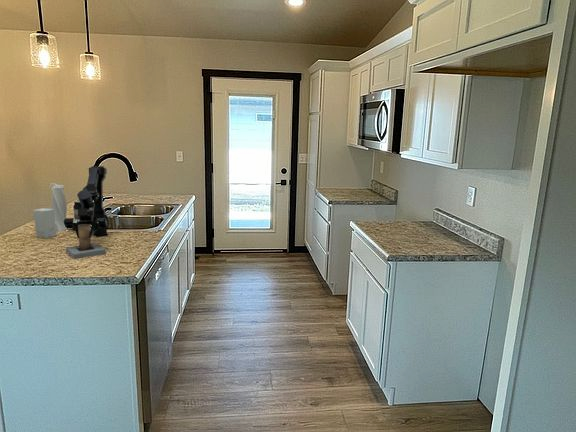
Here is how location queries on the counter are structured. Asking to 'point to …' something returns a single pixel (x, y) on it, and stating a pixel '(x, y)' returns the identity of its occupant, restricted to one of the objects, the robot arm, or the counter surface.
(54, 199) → the skyscraper
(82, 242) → the walnut peg
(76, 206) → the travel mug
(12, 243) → the counter surface
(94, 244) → the frame
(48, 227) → the skincare box
